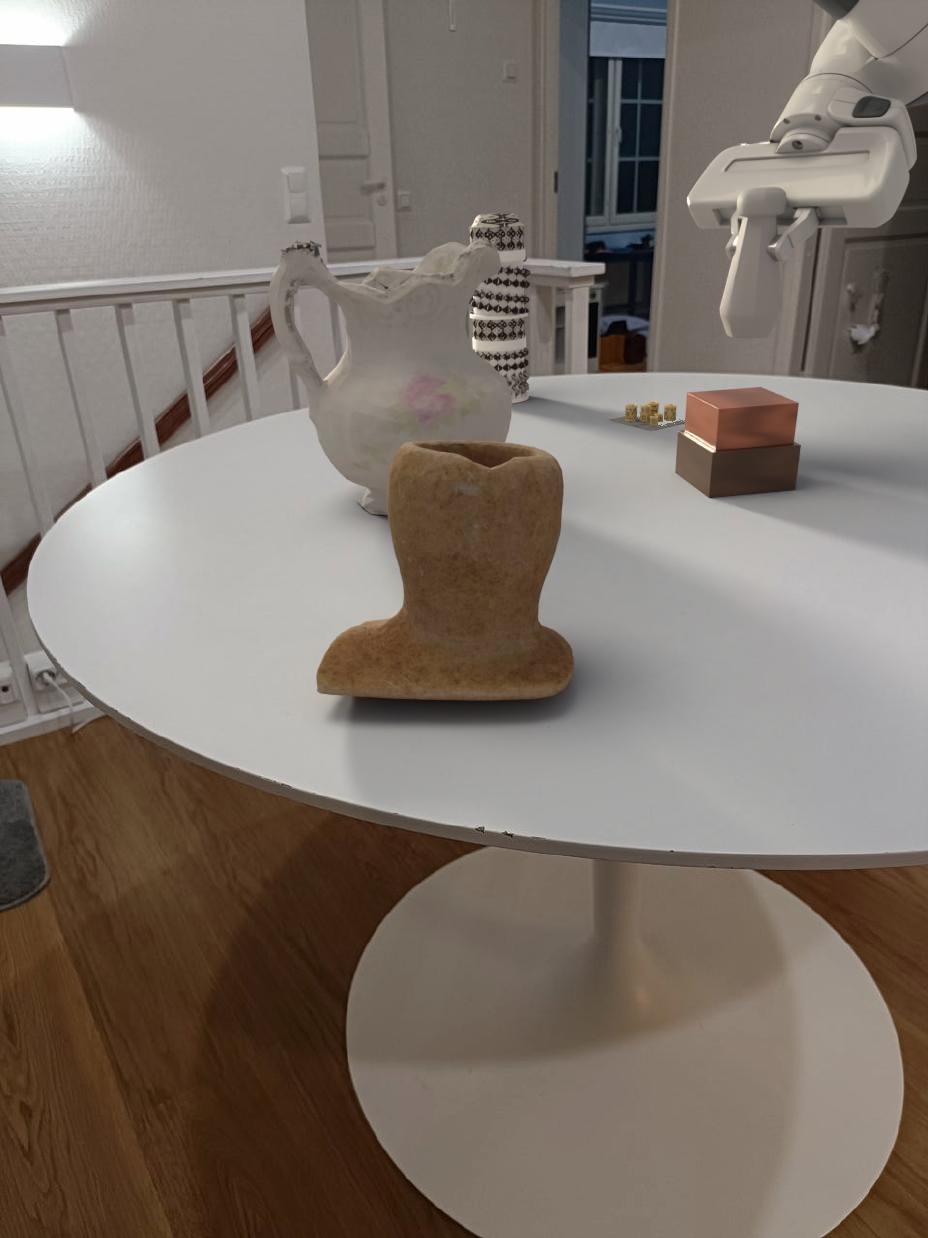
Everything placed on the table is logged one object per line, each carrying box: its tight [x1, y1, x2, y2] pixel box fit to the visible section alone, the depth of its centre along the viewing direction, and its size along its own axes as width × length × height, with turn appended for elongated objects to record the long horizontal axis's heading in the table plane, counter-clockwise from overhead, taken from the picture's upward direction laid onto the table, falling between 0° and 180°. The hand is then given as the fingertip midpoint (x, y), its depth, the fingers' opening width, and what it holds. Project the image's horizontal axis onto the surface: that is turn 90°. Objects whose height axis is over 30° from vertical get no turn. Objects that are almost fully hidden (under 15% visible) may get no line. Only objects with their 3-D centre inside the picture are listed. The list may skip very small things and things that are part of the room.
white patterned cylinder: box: [467, 212, 531, 404], centre depth 125 cm, size 9×9×25 cm
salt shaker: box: [719, 187, 786, 340], centre depth 83 cm, size 6×6×13 cm
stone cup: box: [315, 440, 575, 701], centre depth 53 cm, size 15×12×15 cm
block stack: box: [674, 386, 802, 499], centre depth 88 cm, size 9×9×8 cm
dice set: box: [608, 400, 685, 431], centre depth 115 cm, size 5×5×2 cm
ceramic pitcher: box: [268, 238, 513, 516], centre depth 83 cm, size 22×20×25 cm
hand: (753, 256), depth 82 cm, fingers closed on salt shaker, 3 cm apart
